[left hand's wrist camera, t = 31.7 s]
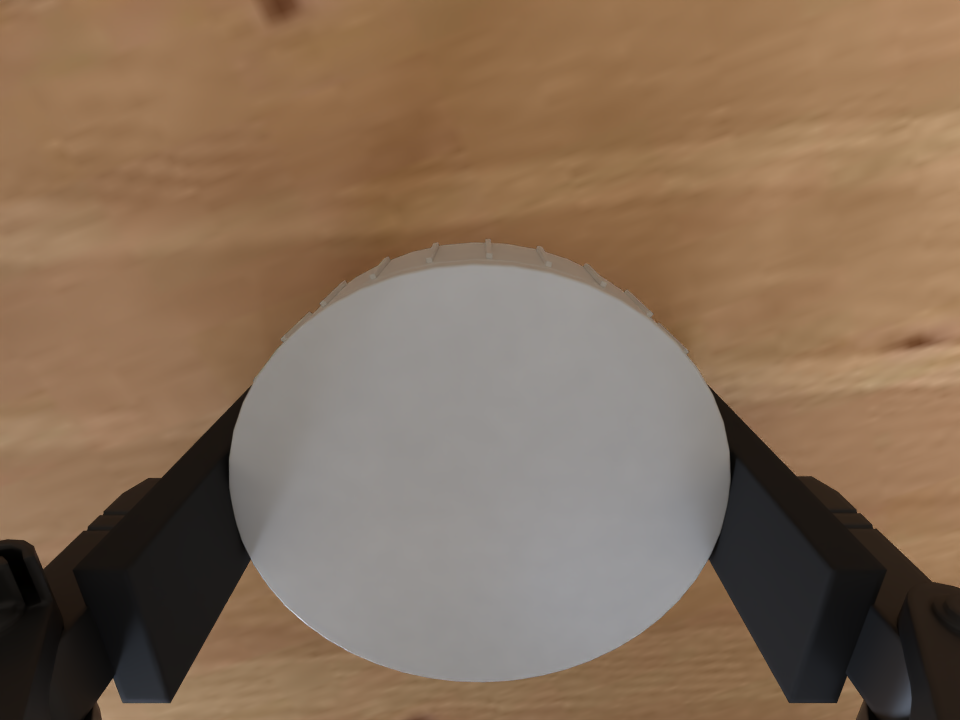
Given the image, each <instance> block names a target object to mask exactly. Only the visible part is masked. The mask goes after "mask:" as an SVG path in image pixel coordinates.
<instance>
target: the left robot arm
mask: <svg viewBox="0 0 960 720" xmlns="http://www.w3.org/2000/svg"><path fill="white" fill-rule="evenodd" d="M251 386H252V385H251ZM251 386H250V387H249V388H248V389H247V391H246V392H245V393H244V394H243V395H242V396H241V397H240V398H239V399H238V400H237V401H236V402H235V403H234V404H233V405H232V406H231V407H230V408H229V409H228V410H227V411H226V412H225V413H224V414H223V415H222V416H221V417H220V418H219V419H218V420H217V421H216V422H215V423H214V424H213V426H212V427H211V428H210V429H209V430H208V431H207V432H206V433H205V434H204V435H203V436H202V437H201V438H200V439H199V440H198V441H197V442H196V443H195V444H194V445H193V446H192V447H191V448H190V449H189V450H188V451H187V452H186V453H185V454H184V455H183V456H182V457H181V458H180V459H179V461H178V462H177V463H176V464H175V465H174V466H173V467H172V468H171V469H170V470H169V471H168V472H167V473H166V474H165V475H164V476H163V477H162V478H148V479H146V480H145V481H143V482H141V483H139V484H138V485H136V486H134V487H133V488H131V489H129V490H128V491H126V492H124V493H123V494H121V495H120V496H119V497H118V498H117V499H116V500H115V501H114V502H113V503H112V504H111V505H110V506H109V507H108V508H107V509H106V510H105V511H104V514H103V515H100V516H99V517H97V518H96V519H95V520H94V521H93V522H92V523H91V524H90V525H89V526H88V530H87V531H83V532H82V533H81V534H80V535H79V536H78V537H77V538H76V539H75V540H74V541H72V542H71V543H70V544H69V545H68V546H67V547H66V548H65V549H64V550H63V551H62V552H61V553H60V554H59V555H58V556H57V557H56V558H55V559H54V560H53V561H52V562H51V563H50V564H49V565H47V566H46V567H45V568H44V569H43V568H42V565H41V563H40V561H39V558H38V556H37V553H36V551H35V548H34V546H33V545H31V544H29V543H28V542H26V541H24V540H10V539H7V540H1V541H0V720H102V718H101V712H100V708H99V706H98V703H97V700H98V699H99V697H100V696H101V694H102V693H103V691H104V690H105V689H106V687H107V686H108V684H109V683H110V681H111V680H112V678H113V679H114V681H115V684H116V687H117V689H118V692H119V695H120V697H121V700H122V703H171V701H172V699H173V697H174V696H175V694H176V692H177V690H178V689H179V687H180V685H181V683H182V681H183V680H184V678H185V676H186V674H187V672H188V671H189V669H190V667H191V665H192V664H193V662H194V660H195V658H196V656H197V655H198V653H199V651H200V649H201V647H202V646H203V644H204V642H205V640H206V639H207V637H208V635H209V633H210V631H211V630H212V628H213V626H214V624H215V622H216V621H217V619H218V617H219V615H220V613H221V612H222V610H223V608H224V606H225V605H226V603H227V601H228V599H229V597H230V596H231V594H232V592H233V590H234V588H235V587H236V585H237V583H238V581H239V580H240V578H241V576H242V574H243V572H244V571H245V569H246V567H247V565H248V563H249V562H250V560H251V558H250V556H249V554H248V552H247V550H246V548H245V546H244V544H243V542H242V540H241V537H240V533H239V530H238V527H237V524H236V520H235V516H234V511H233V506H232V501H231V496H230V490H229V456H230V450H231V443H232V437H233V431H234V428H235V425H236V422H237V419H238V416H239V413H240V410H241V407H242V404H243V401H244V400H245V398H246V396H247V394H248V392H249V390H250V388H251ZM708 387H709V386H708ZM709 389H710V390H711V392H712V394H713V396H714V399H715V401H716V404H717V406H718V409H719V412H720V414H721V417H722V419H723V422H724V427H725V431H726V436H727V441H728V446H729V451H730V473H731V482H730V490H729V498H728V503H727V508H726V512H725V517H724V521H723V525H722V529H721V533H720V535H719V537H718V539H717V542H716V544H715V546H714V548H713V551H712V553H711V555H710V557H709V560H710V562H711V564H712V566H713V568H714V569H715V571H716V573H717V575H718V577H719V578H720V580H721V582H722V584H723V586H724V587H725V589H726V591H727V593H728V594H729V596H730V598H731V600H732V602H733V603H734V605H735V607H736V609H737V611H738V612H739V614H740V616H741V618H742V619H743V621H744V623H745V625H746V627H747V628H748V630H749V632H750V634H751V636H752V637H753V639H754V641H755V643H756V644H757V646H758V648H759V650H760V652H761V653H762V655H763V657H764V659H765V661H766V662H767V664H768V666H769V668H770V669H771V671H772V673H773V675H774V677H775V678H776V680H777V682H778V684H779V686H780V687H781V689H782V691H783V693H784V695H785V696H786V698H787V700H788V702H789V703H837V701H838V699H839V696H840V693H841V691H842V688H843V686H844V683H845V680H846V678H847V676H848V678H849V679H850V680H851V682H852V683H853V685H854V686H855V688H856V689H857V690H858V692H859V693H860V695H861V696H862V698H863V699H864V701H863V703H862V706H861V708H860V711H859V713H858V716H857V718H856V720H960V588H958V587H955V586H950V585H945V584H940V583H935V582H932V581H931V580H930V579H929V578H928V577H927V576H926V575H924V574H923V573H922V572H921V571H920V570H919V569H918V568H917V567H916V566H915V565H914V564H913V563H912V562H911V561H910V560H909V559H908V558H907V557H906V556H905V555H903V554H902V553H901V552H900V551H899V550H898V549H897V548H896V547H895V546H894V545H893V544H892V543H891V542H890V541H889V540H888V539H887V538H886V537H885V536H884V535H883V534H881V533H880V532H879V531H878V530H877V529H873V527H872V524H871V523H870V522H869V521H868V520H867V519H866V518H865V517H864V516H863V515H862V514H861V513H857V510H856V509H855V508H854V507H853V506H852V505H851V504H850V503H849V502H848V501H847V500H846V499H845V498H844V497H843V496H842V495H841V494H840V493H839V492H837V491H836V490H834V489H832V488H830V487H829V486H827V485H825V484H824V483H822V482H820V481H819V480H817V479H815V478H813V477H812V476H796V475H795V474H794V473H793V472H792V471H791V470H790V469H789V468H788V467H787V466H786V465H785V464H784V463H783V462H782V461H781V460H780V459H779V458H778V457H777V456H776V455H775V454H774V453H773V452H772V451H771V450H770V449H769V448H768V446H767V445H766V444H765V443H764V442H763V441H762V440H761V439H760V438H759V437H758V436H757V435H756V434H755V433H754V432H753V431H752V430H751V429H750V428H749V427H748V426H747V425H746V424H745V423H744V422H743V421H742V420H741V419H740V418H739V417H738V416H737V415H736V414H735V413H734V411H733V410H732V409H731V408H730V407H729V406H728V405H727V404H726V403H725V402H724V401H723V400H722V399H721V398H720V397H719V396H718V395H717V394H716V393H715V392H714V391H713V390H712V389H711V388H710V387H709Z"/></svg>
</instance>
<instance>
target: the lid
mask: <svg viewBox="0 0 960 720" xmlns="http://www.w3.org/2000/svg"><path fill="white" fill-rule="evenodd" d="M320 305H321V306H320V307H319V308H318V309H317V310H316V311H315V312H314V313H313V314H312V313H311V312H310V311H309V312H308V313H307V314H306V315H305V316H304V317H303V318H302V319H301V320H300V321H299V322H298V323H297V324H296V325H294V326H293V327H292V328H291V329H290V330H289V331H288V332H287V333H286V334H285V335H284V336H283V337H282V338H281V341H282V342H283V343H282V344H281V345H280V346H279V347H278V348H277V349H276V351H275V352H274V353H273V355H272V356H271V357H270V359H269V360H268V361H267V363H266V364H265V365H264V367H263V368H262V370H261V371H260V372H259V374H258V375H257V376H256V377H255V378H254V380H253V384H252V386H251V388H250V390H249V392H248V394H247V396H246V398H245V400H244V401H243V404H242V407H241V410H240V413H239V416H238V419H237V422H236V425H235V428H234V431H233V437H232V443H231V450H230V456H229V490H230V496H231V501H232V506H233V511H234V516H235V520H236V524H237V527H238V530H239V533H240V537H241V540H242V542H243V544H244V546H245V548H246V550H247V552H248V554H249V556H250V558H251V560H252V562H253V564H254V566H255V567H256V569H257V570H258V572H259V573H260V575H261V576H262V578H263V579H264V581H265V582H266V584H267V585H268V586H269V588H270V589H271V590H272V591H273V592H274V593H275V594H276V596H277V597H278V598H279V599H280V600H281V601H282V602H283V604H284V605H285V606H286V607H287V608H288V609H289V610H291V611H292V612H293V613H294V614H295V615H296V616H297V617H298V618H299V619H301V620H302V621H303V622H304V623H305V624H306V625H308V626H309V627H311V628H312V629H313V630H315V631H316V632H318V633H319V634H320V635H322V636H323V637H325V638H326V639H327V640H329V641H331V642H333V643H334V644H336V645H338V646H340V647H342V648H343V649H345V650H347V651H349V652H351V653H353V654H355V655H357V656H360V657H362V658H364V659H366V660H369V661H371V662H373V663H376V664H379V665H382V666H385V667H388V668H391V669H394V670H397V671H400V672H404V673H409V674H413V675H418V676H422V677H427V678H433V679H442V680H450V681H462V682H495V681H511V680H518V679H525V678H531V677H538V676H542V675H546V674H550V673H554V672H558V671H562V670H566V669H568V668H571V667H574V666H577V665H580V664H583V663H585V662H588V661H591V660H593V659H595V658H597V657H599V656H602V655H604V654H606V653H608V652H610V651H612V650H614V649H616V648H618V647H620V646H621V645H623V644H625V643H626V642H628V641H629V640H631V639H633V638H634V637H636V636H638V635H639V634H641V633H642V632H643V631H644V630H646V629H647V628H648V627H650V626H651V625H652V624H654V623H655V622H656V621H658V620H659V619H660V618H661V617H662V616H663V615H664V614H665V613H666V612H667V611H668V610H669V609H670V608H672V607H673V606H674V605H675V604H676V603H677V602H678V601H679V600H680V598H681V597H682V596H683V595H684V594H685V592H686V591H687V590H688V589H689V587H690V586H691V585H692V584H693V582H694V581H695V580H696V578H697V577H698V575H699V574H700V572H701V570H702V569H703V567H704V566H705V564H706V562H707V561H708V559H709V557H710V555H711V553H712V551H713V548H714V546H715V544H716V542H717V539H718V537H719V535H720V533H721V529H722V525H723V521H724V517H725V512H726V508H727V503H728V498H729V490H730V482H731V473H730V451H729V446H728V441H727V436H726V431H725V427H724V422H723V419H722V417H721V414H720V412H719V409H718V406H717V404H716V401H715V399H714V396H713V394H712V392H711V390H710V389H709V387H708V385H707V384H706V382H705V380H704V378H703V377H702V375H701V373H700V372H699V370H698V368H697V367H696V365H695V364H694V363H693V362H692V361H691V359H690V358H689V357H688V356H687V353H689V351H688V350H687V349H686V348H685V347H684V346H683V345H682V344H681V343H680V342H679V341H678V340H677V339H676V338H675V337H674V336H673V335H672V334H671V333H670V332H669V331H668V330H667V329H665V328H664V327H663V326H662V325H661V324H660V323H658V324H657V323H656V322H655V321H654V320H653V319H652V318H651V316H652V315H653V313H652V312H651V311H650V310H649V309H648V308H647V307H646V306H645V305H644V304H642V303H641V302H640V301H639V300H638V299H637V298H636V297H635V296H634V295H633V294H632V293H631V292H630V291H628V290H627V289H626V290H625V292H623V291H622V290H621V289H620V288H618V287H617V286H615V285H614V284H612V283H611V282H609V281H608V280H606V279H605V278H603V277H602V276H600V275H599V274H598V273H597V272H596V271H595V270H594V269H593V268H592V267H591V266H590V265H589V264H587V263H585V264H584V266H581V265H579V264H577V263H575V262H573V261H571V260H569V259H566V258H563V257H560V256H557V255H554V254H551V253H548V252H545V250H544V249H543V247H541V246H537V248H536V249H533V248H527V247H522V246H516V245H511V244H501V243H491V239H485V243H479V242H473V243H461V244H449V245H441V246H439V243H438V242H437V243H433V245H432V247H431V248H428V249H423V250H419V251H414V252H411V253H408V254H405V255H402V256H400V257H397V258H394V259H392V260H390V258H389V257H386V258H384V259H383V260H382V261H381V263H380V264H379V265H378V266H376V267H374V268H372V269H370V270H368V271H367V272H365V273H363V274H361V275H359V276H357V277H356V278H354V279H353V280H351V281H350V282H349V283H347V282H346V281H345V280H344V281H343V282H341V283H340V284H339V285H338V286H337V287H336V288H335V289H334V290H333V291H332V292H331V293H330V294H329V295H328V296H327V297H326V298H325V299H324V300H323V301H321V302H320Z"/></svg>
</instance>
